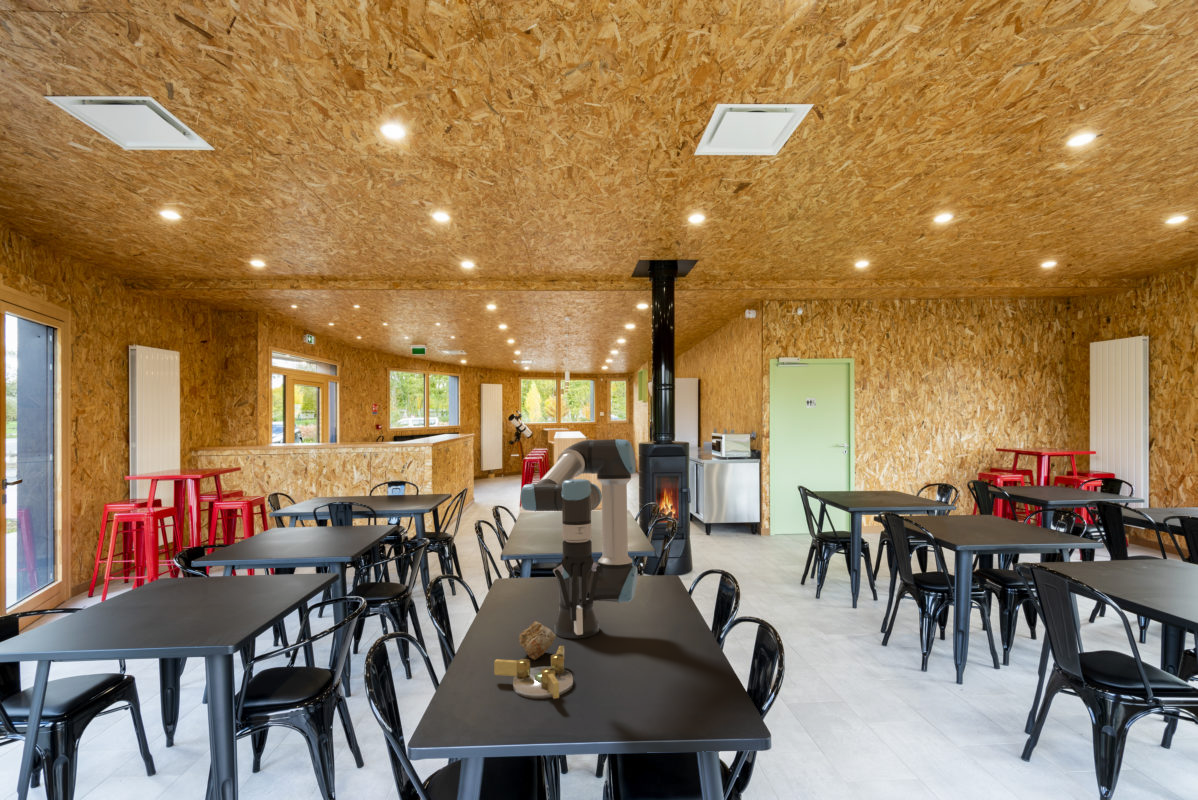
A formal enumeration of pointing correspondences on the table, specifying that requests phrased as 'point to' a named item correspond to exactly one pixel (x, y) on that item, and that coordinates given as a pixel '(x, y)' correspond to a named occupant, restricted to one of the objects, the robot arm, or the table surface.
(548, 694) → the tribrach plate
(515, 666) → the knob
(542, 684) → the knob
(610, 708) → the table surface
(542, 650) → the rock
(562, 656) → the knob
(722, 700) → the table surface
